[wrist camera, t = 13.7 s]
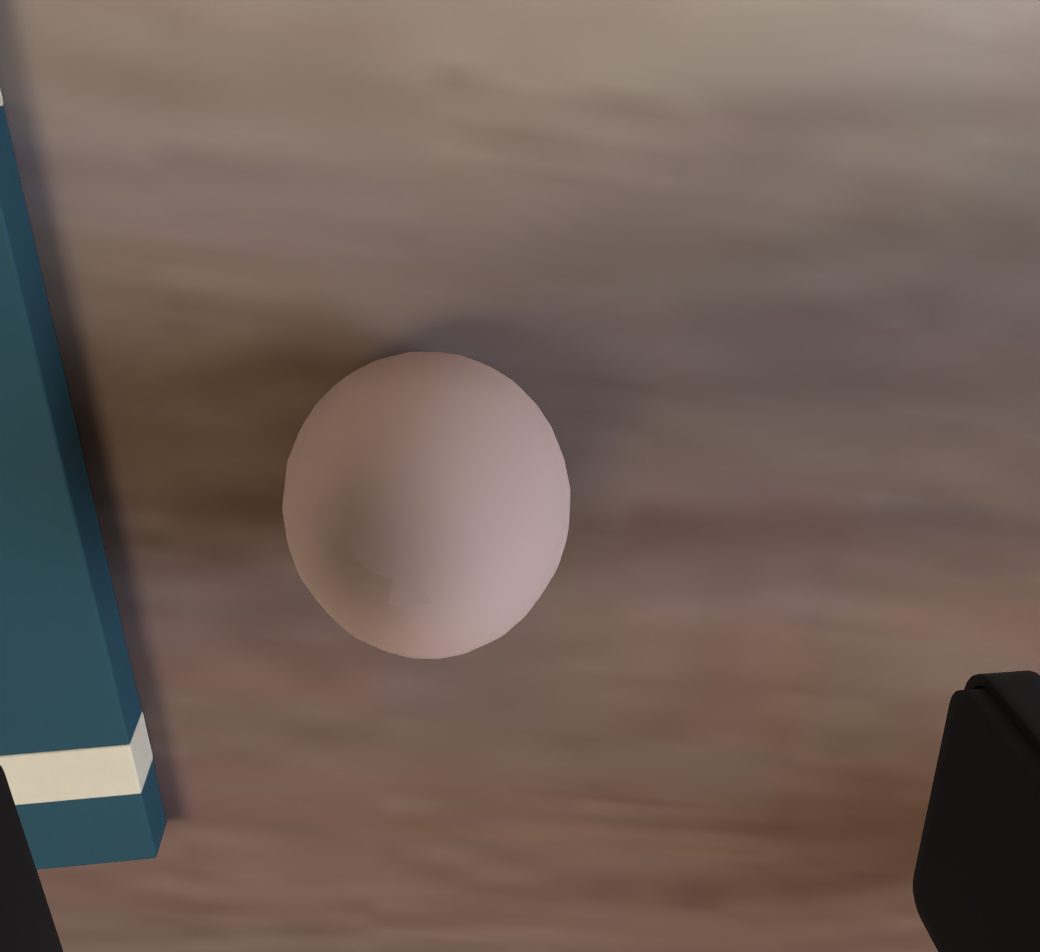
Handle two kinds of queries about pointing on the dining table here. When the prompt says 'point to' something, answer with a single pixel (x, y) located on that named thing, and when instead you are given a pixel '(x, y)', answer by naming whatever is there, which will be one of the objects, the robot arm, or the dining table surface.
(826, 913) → the dining table surface
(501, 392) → the egg
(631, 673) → the dining table surface
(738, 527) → the dining table surface
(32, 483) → the towel
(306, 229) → the dining table surface
